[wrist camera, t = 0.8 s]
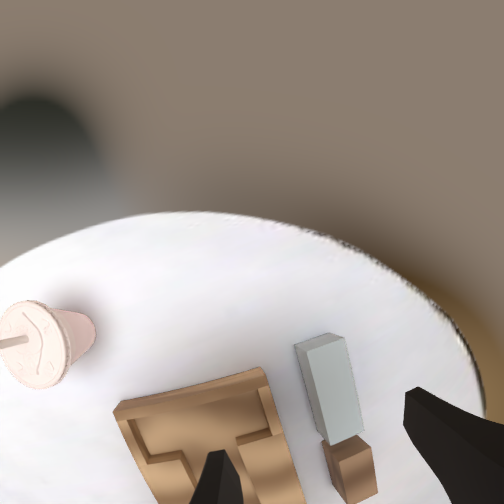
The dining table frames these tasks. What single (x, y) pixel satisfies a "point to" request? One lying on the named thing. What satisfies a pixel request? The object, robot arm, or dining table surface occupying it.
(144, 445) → the jig
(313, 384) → the grey square post
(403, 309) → the dining table surface
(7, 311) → the smoothie
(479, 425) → the robot arm
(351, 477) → the brown wooden block
